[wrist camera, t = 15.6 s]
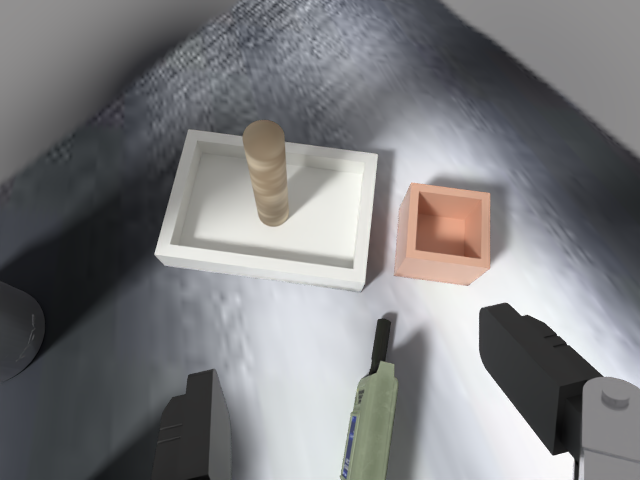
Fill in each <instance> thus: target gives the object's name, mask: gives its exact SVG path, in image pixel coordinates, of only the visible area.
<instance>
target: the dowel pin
mask: <svg viewBox="0 0 640 480" xmlns="http://www.w3.org/2000/svg"><path fill="white" fill-rule="evenodd" d="M242 140H243V145H244V150H245V155H246V159H247V164H248V169H249V174H250V178H251V183H252V188H253V192H254V197H255V202H256V207H257V211H258V216H259V219H260V220H261V222H262V223H263V224H265V225H267V226H270V227H276V226H280V225H282V224H283V223H284V222H285V221H286V220H287V218H288V216H289V205H288V187H287V170H286V153H285V136H284V132H283V130H282V128H281V127H280V126H279V125H278V124H276V123H275V122H273V121H269V120H258V121H255V122H253V123H251V124H250V125H248V126H247V128H246V129H245V130H244V132H243V137H242Z"/></svg>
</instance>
